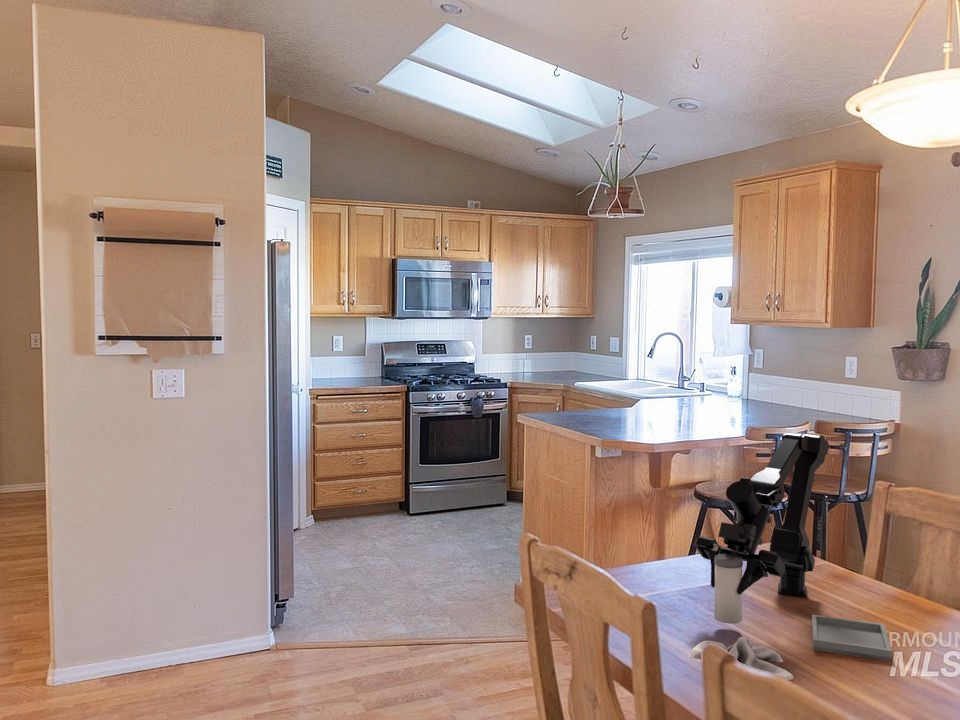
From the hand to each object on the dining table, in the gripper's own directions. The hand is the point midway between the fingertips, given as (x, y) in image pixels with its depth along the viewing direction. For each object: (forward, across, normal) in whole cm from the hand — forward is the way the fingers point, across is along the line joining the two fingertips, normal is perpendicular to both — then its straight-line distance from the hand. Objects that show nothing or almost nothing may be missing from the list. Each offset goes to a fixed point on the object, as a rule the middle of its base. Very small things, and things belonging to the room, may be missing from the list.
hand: (725, 589), depth 165 cm
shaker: (+4, 0, +6) cm, 7 cm away
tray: (-3, +21, +16) cm, 26 cm away
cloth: (+16, +10, -2) cm, 19 cm away
